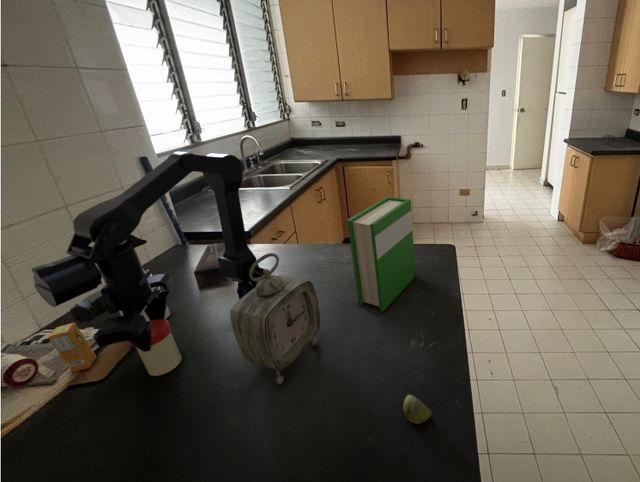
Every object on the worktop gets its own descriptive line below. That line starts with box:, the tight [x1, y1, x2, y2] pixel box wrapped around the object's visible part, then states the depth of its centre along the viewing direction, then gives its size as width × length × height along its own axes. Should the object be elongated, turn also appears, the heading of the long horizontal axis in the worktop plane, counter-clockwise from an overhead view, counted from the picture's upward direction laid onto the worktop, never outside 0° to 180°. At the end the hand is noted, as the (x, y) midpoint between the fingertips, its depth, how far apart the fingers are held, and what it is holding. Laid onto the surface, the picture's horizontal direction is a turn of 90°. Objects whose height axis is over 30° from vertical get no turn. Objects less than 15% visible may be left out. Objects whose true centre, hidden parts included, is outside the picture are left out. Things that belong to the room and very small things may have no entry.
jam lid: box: [130, 319, 172, 348], centre depth 68 cm, size 6×6×2 cm
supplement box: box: [47, 322, 97, 373], centre depth 70 cm, size 3×3×10 cm
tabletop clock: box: [230, 252, 321, 385], centre depth 66 cm, size 14×9×25 cm, turn 160°
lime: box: [402, 394, 433, 425], centre depth 56 cm, size 4×5×5 cm
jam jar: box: [135, 331, 183, 377], centre depth 69 cm, size 6×6×9 cm
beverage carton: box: [193, 242, 230, 290], centre depth 104 cm, size 8×19×7 cm, turn 20°
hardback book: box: [346, 195, 416, 313], centre depth 88 cm, size 18×7×24 cm, turn 153°
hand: (153, 339), depth 68 cm, fingers closed on jam lid, 6 cm apart
